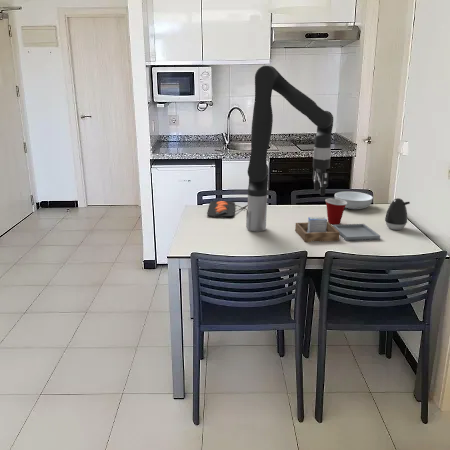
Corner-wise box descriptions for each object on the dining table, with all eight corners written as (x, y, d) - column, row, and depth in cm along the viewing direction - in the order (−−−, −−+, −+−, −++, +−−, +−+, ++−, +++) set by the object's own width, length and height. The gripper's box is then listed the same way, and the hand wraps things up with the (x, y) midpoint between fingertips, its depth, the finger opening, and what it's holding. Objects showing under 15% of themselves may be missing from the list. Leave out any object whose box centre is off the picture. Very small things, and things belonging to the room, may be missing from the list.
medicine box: (323, 234, 219) (325, 216, 216) (325, 237, 215) (327, 219, 212) (307, 234, 219) (308, 216, 216) (309, 237, 214) (310, 219, 212)
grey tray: (346, 241, 209) (346, 237, 209) (332, 228, 226) (332, 224, 226) (379, 239, 211) (380, 235, 211) (363, 227, 228) (364, 223, 228)
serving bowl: (358, 214, 250) (359, 202, 248) (326, 206, 264) (327, 195, 262) (378, 207, 263) (380, 196, 261) (347, 200, 278) (348, 189, 276)
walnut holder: (304, 242, 208) (305, 233, 207) (295, 230, 223) (295, 222, 222) (339, 240, 210) (339, 232, 209) (327, 229, 225) (327, 221, 224)
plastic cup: (345, 227, 228) (348, 204, 225) (323, 226, 230) (325, 202, 227) (345, 221, 239) (347, 198, 235) (323, 219, 241) (325, 197, 237)
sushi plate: (210, 204, 270) (210, 197, 269) (261, 205, 269) (261, 198, 268) (206, 218, 243) (206, 212, 241) (263, 220, 242) (264, 212, 240)
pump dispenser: (402, 233, 221) (406, 202, 216) (381, 228, 227) (384, 198, 222) (409, 227, 228) (413, 198, 224) (388, 223, 234) (391, 194, 230)
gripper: (308, 154, 212) (306, 189, 217) (318, 160, 198) (316, 197, 203) (324, 154, 212) (322, 189, 217) (335, 159, 199) (332, 196, 204)
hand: (319, 192), depth 210 cm, fingers open, 8 cm apart
